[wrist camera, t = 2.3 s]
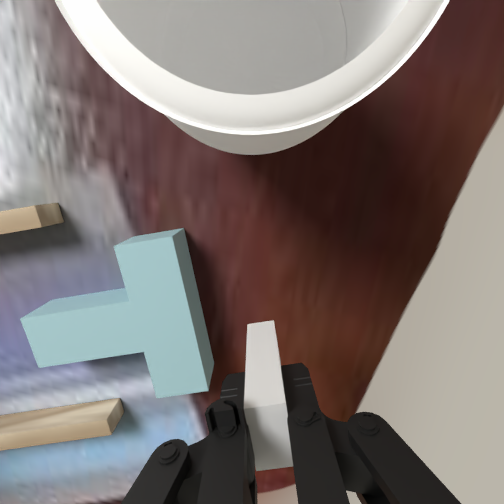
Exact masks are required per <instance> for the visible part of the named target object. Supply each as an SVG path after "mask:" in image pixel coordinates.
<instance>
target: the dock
mask: <svg viewBox="0 0 504 504" xmlns="http://www.w3.org/2000/svg"><path fill="white" fill-rule="evenodd" d="M63 222H64V221H63V217H62V214H61V211H60V208H59V205H58V203H52V204H44V205H35V206H29V207H24V208H18V209H12V210H7V211H1V212H0V234H5V233H11V232H17V231H23V230H29V229H34V228H40V227H45V226H49V225H54V224H58V223H63ZM123 413H124V410H123V407H122V404H121V400H120V398H116V399H110V400H103V401H96V402H89V403H82V404H75V405H69V406H62V407H55V408H48V409H41V410H34V411H28V412H21V413H14V414H7V415H0V451H1V450H8V449H15V448H22V447H29V446H36V445H43V444H50V443H57V442H64V441H72V440H79V439H86V438H93V437H100V436H107V435H112V433H113V431H114V430H115V428H116V426H117V424H118V422H119V421H120V419H121V417H122V415H123Z"/></svg>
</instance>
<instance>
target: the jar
mask: <svg viewBox="0 0 504 504" xmlns="http://www.w3.org/2000/svg"><path fill="white" fill-rule="evenodd" d="M55 2H56V4H57V6H58V8H59V9H60V11H61V13H62V15H63V16H64V18H65V20H66V21H67V23H68V24H69V26H70V28H71V29H72V31H73V32H74V34H75V35H76V36H77V38H78V39H79V41H80V42H81V43H82V45H83V46H84V47H85V48H86V50H87V51H88V52H89V53H90V55H91V56H92V57H93V58H94V59H95V60H96V61H97V63H98V64H99V65H100V66H101V67H102V68H103V69H104V70H105V71H106V72H107V73H108V74H109V75H110V76H111V77H112V78H113V79H114V80H115V81H117V82H118V83H119V84H120V85H121V86H122V87H124V88H125V89H126V90H127V91H129V92H130V93H131V94H133V95H134V96H135V97H137V98H138V99H140V100H141V101H143V102H144V103H146V104H147V105H149V106H150V107H152V108H154V109H156V110H157V111H159V112H161V113H163V114H165V115H166V116H167V117H168V118H169V119H170V120H171V121H172V122H173V123H174V124H175V125H177V126H178V127H179V128H180V129H182V130H183V131H184V132H186V133H187V134H189V135H190V136H192V137H193V138H195V139H197V140H198V141H200V142H202V143H204V144H206V145H208V146H211V147H213V148H216V149H219V150H222V151H226V152H230V153H235V154H243V155H260V154H268V153H273V152H278V151H281V150H285V149H287V148H290V147H293V146H295V145H297V144H299V143H301V142H303V141H305V140H307V139H309V138H310V137H312V136H314V135H315V134H317V133H318V132H320V131H321V130H322V129H324V128H325V127H326V126H327V125H329V124H330V123H331V122H332V121H333V120H334V119H336V118H337V117H338V116H339V115H340V114H341V113H342V112H343V111H344V110H346V109H347V108H349V107H351V106H352V105H354V104H355V103H357V102H358V101H360V100H361V99H363V98H364V97H365V96H367V95H368V94H370V93H371V92H372V91H374V90H375V89H376V88H377V87H379V86H380V85H381V84H382V83H383V82H385V81H386V80H387V79H388V78H389V77H390V76H391V75H392V74H394V73H395V72H396V71H397V70H398V69H399V68H400V67H401V66H402V65H403V64H404V63H405V61H406V60H407V59H408V58H409V57H410V56H411V55H412V54H413V53H414V51H415V50H416V49H417V48H418V47H419V45H420V44H421V43H422V41H423V40H424V39H425V38H426V36H427V35H428V34H429V32H430V31H431V29H432V28H433V26H434V25H435V23H436V22H437V20H438V19H439V17H440V16H441V14H442V12H443V11H444V9H445V7H446V6H447V4H448V2H449V0H55Z"/></svg>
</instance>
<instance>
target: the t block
mask: <svg viewBox="0 0 504 504" xmlns="http://www.w3.org/2000/svg"><path fill="white" fill-rule="evenodd" d="M114 249H115V253H116V256H117V260H118V263H119V267H120V270H121V274H122V277H123V281H124V284H125V288H122V289H115V290H109V291H103V292H97V293H91V294H85V295H78V296H72V297H66V298H60V299H54V300H51V301H49V302H48V303H46V304H44V305H43V306H41V307H39V308H38V309H36V310H34V311H32V312H31V313H29V314H27V315H26V316H24V317H22V318H21V319H20V320H21V322H22V325H23V328H24V330H25V333H26V335H27V338H28V341H29V343H30V346H31V349H32V351H33V354H34V357H35V359H36V362H37V364H38V367H39V368H41V367H48V366H54V365H61V364H67V363H74V362H81V361H87V360H94V359H100V358H107V357H113V356H120V355H126V354H133V353H140V352H144V355H145V358H146V362H147V365H148V369H149V372H150V376H151V379H152V383H153V386H154V390H155V394H156V397H157V398H162V397H169V396H176V395H183V394H190V393H197V392H204V391H208V390H209V386H210V381H211V376H212V371H213V367H214V360H213V356H212V351H211V347H210V342H209V338H208V333H207V329H206V325H205V320H204V316H203V311H202V307H201V302H200V298H199V293H198V289H197V285H196V280H195V276H194V271H193V267H192V262H191V258H190V253H189V249H188V244H187V240H186V236H185V231H184V228H182V229H176V230H170V231H164V232H158V233H152V234H146V235H140V236H135V237H132V238H130V239H128V240H126V241H124V242H122V243H119V244H117V245H115V246H114Z"/></svg>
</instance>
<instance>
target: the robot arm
mask: <svg viewBox="0 0 504 504" xmlns="http://www.w3.org/2000/svg"><path fill="white" fill-rule="evenodd" d="M205 416H206V421H207V425H208V429H209V435H208V436H207V437H206V438H204V439H203V440H201V441H199V442H197V443H194V444H192V445H190V446H188V445H187V444H186V443H185V442H184V441H183V440H180V439H173V440H169V441H167V442H164V443H163V444H161V445H160V446H159V447H157V449H156V450H155V451H154V452H153V453H152V455H151V456H150V458H149V460H148V461H147V463H146V464H145V466H144V468H143V469H142V471H141V473H140V474H139V476H138V477H137V479H136V481H135V482H134V484H133V485H132V487H131V489H130V490H129V492H128V493H127V495H126V497H125V498H124V500H123V501H122V503H121V504H257V483H256V478H255V467H256V471H261V470H268V469H276V468H283V467H291V466H293V468H294V475H295V482H296V489H297V496H298V504H350V503H349V500H348V496H347V493H346V490H347V491H352V492H356V494H357V497H358V498H359V500H360V502H361V503H362V504H461V503H460V502H459V501H458V500H457V499H456V498H455V496H454V495H453V494H452V493H451V492H450V491H449V490H448V489H447V488H446V486H445V485H444V484H443V483H442V482H441V481H440V480H439V479H438V478H437V477H436V476H435V474H433V472H432V471H431V470H430V469H429V468H428V467H427V466H426V465H425V463H424V462H423V461H422V460H421V459H420V458H419V457H418V456H417V455H416V454H415V453H414V451H413V450H412V449H411V448H410V447H409V446H408V445H407V444H406V443H405V442H404V441H403V439H402V438H401V437H400V436H399V435H398V434H397V433H396V432H395V431H394V430H393V429H392V427H391V426H390V425H389V424H388V423H387V422H386V421H385V420H384V419H383V418H381V417H380V416H379V415H376V414H373V413H369V412H360V413H356V414H354V415H353V416H351V417H350V419H349V420H348V422H341V421H336V420H332V419H330V418H328V417H327V416H325V415H324V414H323V413H322V412H321V410H320V408H319V405H318V402H317V398H316V395H315V391H314V388H313V384H312V381H311V378H310V374H309V371H308V368H307V367H305V366H304V365H303V364H302V363H297V364H290V365H283V366H281V361H280V355H279V349H278V343H277V337H276V331H275V325H274V320H273V321H266V322H260V323H253V324H248V326H247V348H246V370H245V372H241V373H234V374H228V375H227V376H226V378H225V379H224V381H223V382H222V388H221V395H220V399H219V400H217V401H215V402H213V403H212V404H211V405H210V406H209V407H208V408H207V410H206V412H205Z"/></svg>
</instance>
